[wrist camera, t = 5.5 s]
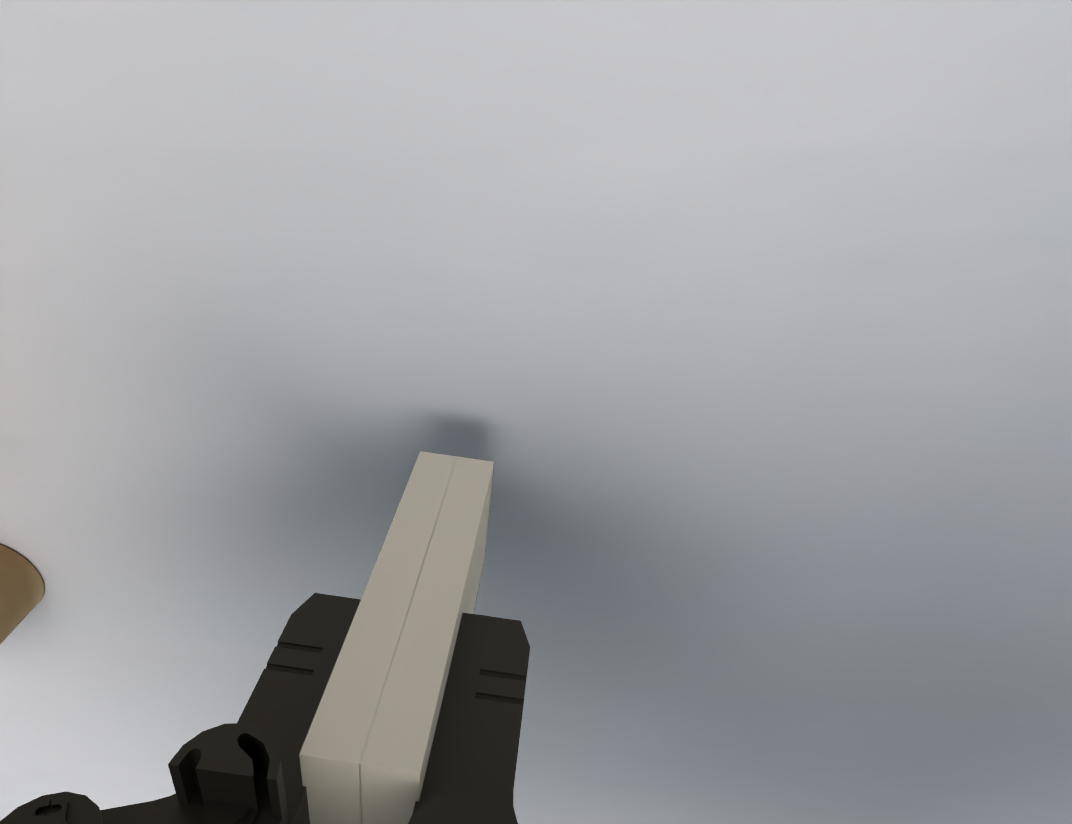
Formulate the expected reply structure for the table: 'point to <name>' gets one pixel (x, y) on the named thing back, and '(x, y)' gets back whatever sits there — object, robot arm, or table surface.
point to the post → (16, 590)
